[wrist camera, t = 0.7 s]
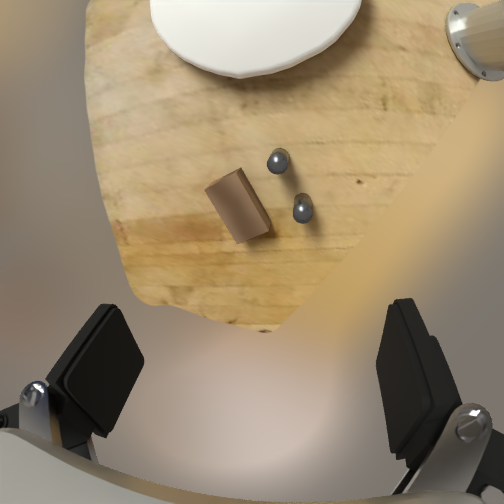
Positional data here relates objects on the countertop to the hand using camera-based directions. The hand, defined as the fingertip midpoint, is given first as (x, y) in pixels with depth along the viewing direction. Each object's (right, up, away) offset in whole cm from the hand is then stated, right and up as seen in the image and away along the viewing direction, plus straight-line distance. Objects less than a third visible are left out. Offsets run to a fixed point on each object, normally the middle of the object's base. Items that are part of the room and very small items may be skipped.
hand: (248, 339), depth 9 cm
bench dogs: (+6, +13, +29) cm, 32 cm away
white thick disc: (0, +37, +16) cm, 41 cm away
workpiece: (-1, +10, +32) cm, 34 cm away
